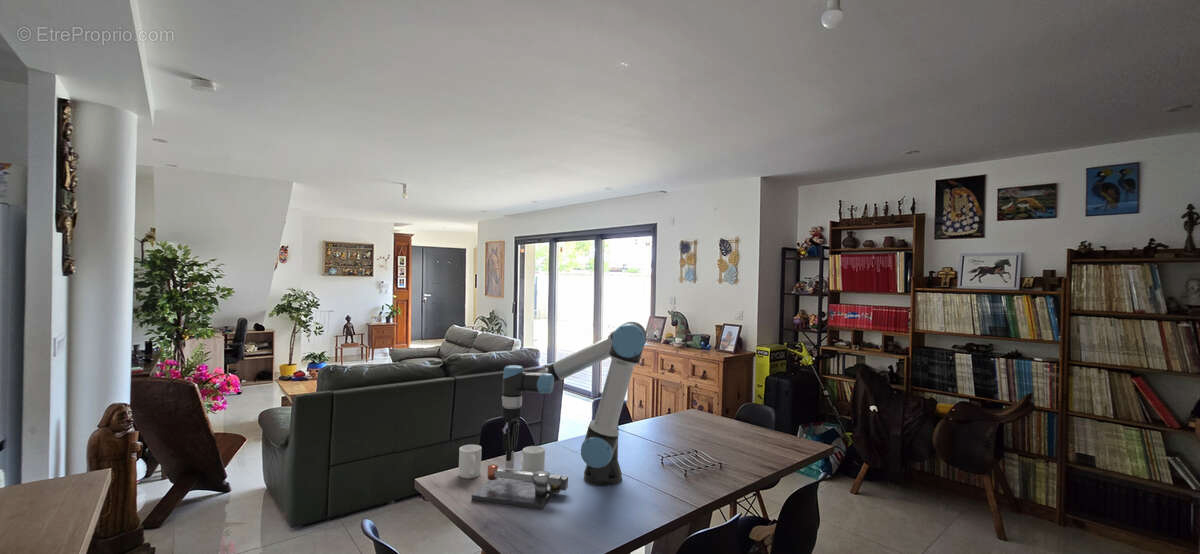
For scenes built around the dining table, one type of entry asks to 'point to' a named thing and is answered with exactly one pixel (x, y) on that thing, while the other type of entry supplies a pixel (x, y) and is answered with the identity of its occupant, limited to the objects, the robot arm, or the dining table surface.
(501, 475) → the lever
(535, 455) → the mug
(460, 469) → the mug
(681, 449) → the dining table surface
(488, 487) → the press base
